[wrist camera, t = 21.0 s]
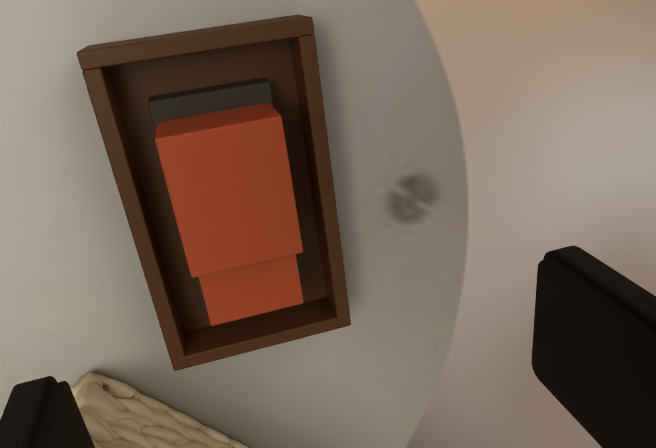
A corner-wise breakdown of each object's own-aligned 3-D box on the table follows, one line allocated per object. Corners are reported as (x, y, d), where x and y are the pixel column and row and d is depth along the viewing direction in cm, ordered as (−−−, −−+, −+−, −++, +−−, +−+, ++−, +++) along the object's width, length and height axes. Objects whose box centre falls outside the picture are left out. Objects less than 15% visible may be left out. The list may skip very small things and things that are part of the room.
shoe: (148, 96, 27) (143, 116, 23) (265, 76, 28) (282, 92, 24) (201, 297, 32) (205, 346, 28) (298, 274, 33) (318, 318, 29)
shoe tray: (86, 45, 26) (75, 52, 23) (299, 14, 28) (312, 16, 25) (174, 340, 33) (174, 371, 31) (337, 299, 35) (351, 325, 32)
